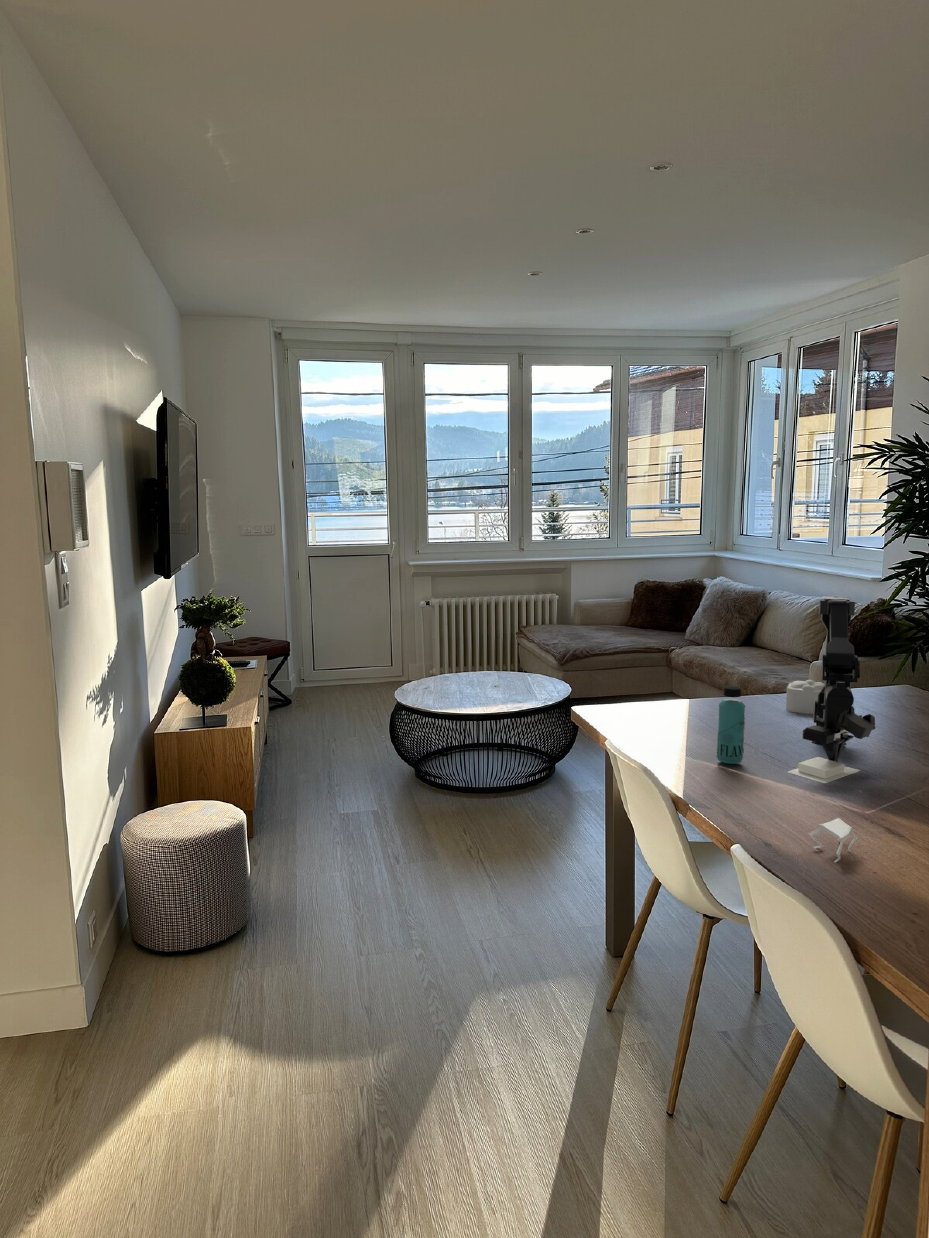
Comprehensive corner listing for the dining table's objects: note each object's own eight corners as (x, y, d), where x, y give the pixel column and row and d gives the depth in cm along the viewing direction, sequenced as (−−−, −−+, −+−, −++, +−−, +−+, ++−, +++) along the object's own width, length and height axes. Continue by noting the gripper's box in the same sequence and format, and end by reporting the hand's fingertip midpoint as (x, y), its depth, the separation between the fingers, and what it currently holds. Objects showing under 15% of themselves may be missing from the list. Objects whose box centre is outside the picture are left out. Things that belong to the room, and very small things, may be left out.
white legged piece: (802, 839, 166) (803, 815, 165) (846, 840, 165) (848, 816, 164) (821, 866, 154) (823, 840, 153) (869, 868, 153) (871, 842, 152)
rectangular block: (817, 764, 208) (798, 771, 204) (817, 756, 208) (798, 762, 203) (844, 772, 202) (824, 779, 198) (844, 763, 202) (825, 770, 198)
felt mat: (786, 773, 204) (786, 771, 203) (822, 761, 212) (822, 759, 212) (824, 784, 195) (824, 783, 195) (860, 772, 204) (860, 770, 204)
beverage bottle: (715, 768, 208) (717, 689, 205) (716, 759, 214) (719, 683, 211) (742, 770, 206) (746, 690, 203) (743, 762, 212) (747, 684, 209)
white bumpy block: (788, 703, 268) (789, 677, 267) (832, 707, 263) (834, 680, 262) (784, 711, 259) (786, 684, 258) (830, 716, 254) (832, 688, 252)
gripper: (846, 714, 191) (842, 780, 194) (890, 702, 202) (886, 764, 204) (802, 704, 200) (799, 767, 203) (846, 693, 211) (842, 753, 213)
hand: (833, 763), depth 206 cm, fingers closed
